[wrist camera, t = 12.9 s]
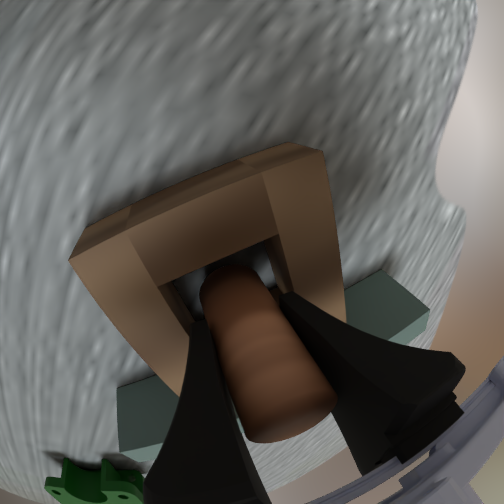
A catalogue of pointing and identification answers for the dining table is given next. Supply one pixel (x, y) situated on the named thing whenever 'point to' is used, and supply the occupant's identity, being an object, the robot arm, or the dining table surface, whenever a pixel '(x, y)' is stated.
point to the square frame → (212, 247)
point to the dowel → (263, 358)
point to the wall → (165, 399)
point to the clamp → (96, 485)
